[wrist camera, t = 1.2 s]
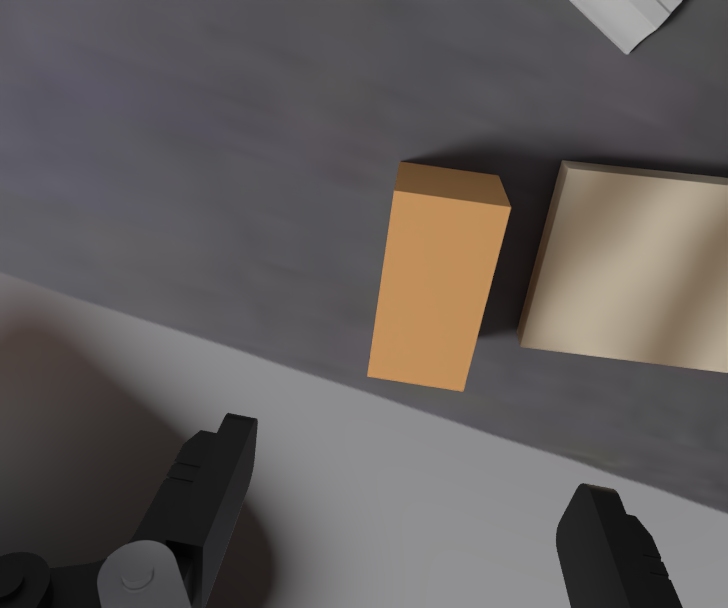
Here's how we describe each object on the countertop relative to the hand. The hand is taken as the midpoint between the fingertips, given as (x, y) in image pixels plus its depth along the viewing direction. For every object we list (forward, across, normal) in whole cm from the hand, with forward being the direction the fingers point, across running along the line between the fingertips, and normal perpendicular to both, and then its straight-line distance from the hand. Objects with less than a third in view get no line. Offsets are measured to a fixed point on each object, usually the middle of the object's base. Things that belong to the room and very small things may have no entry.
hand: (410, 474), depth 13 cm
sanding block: (+18, -1, +2) cm, 18 cm away
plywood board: (+17, -15, 0) cm, 23 cm away
